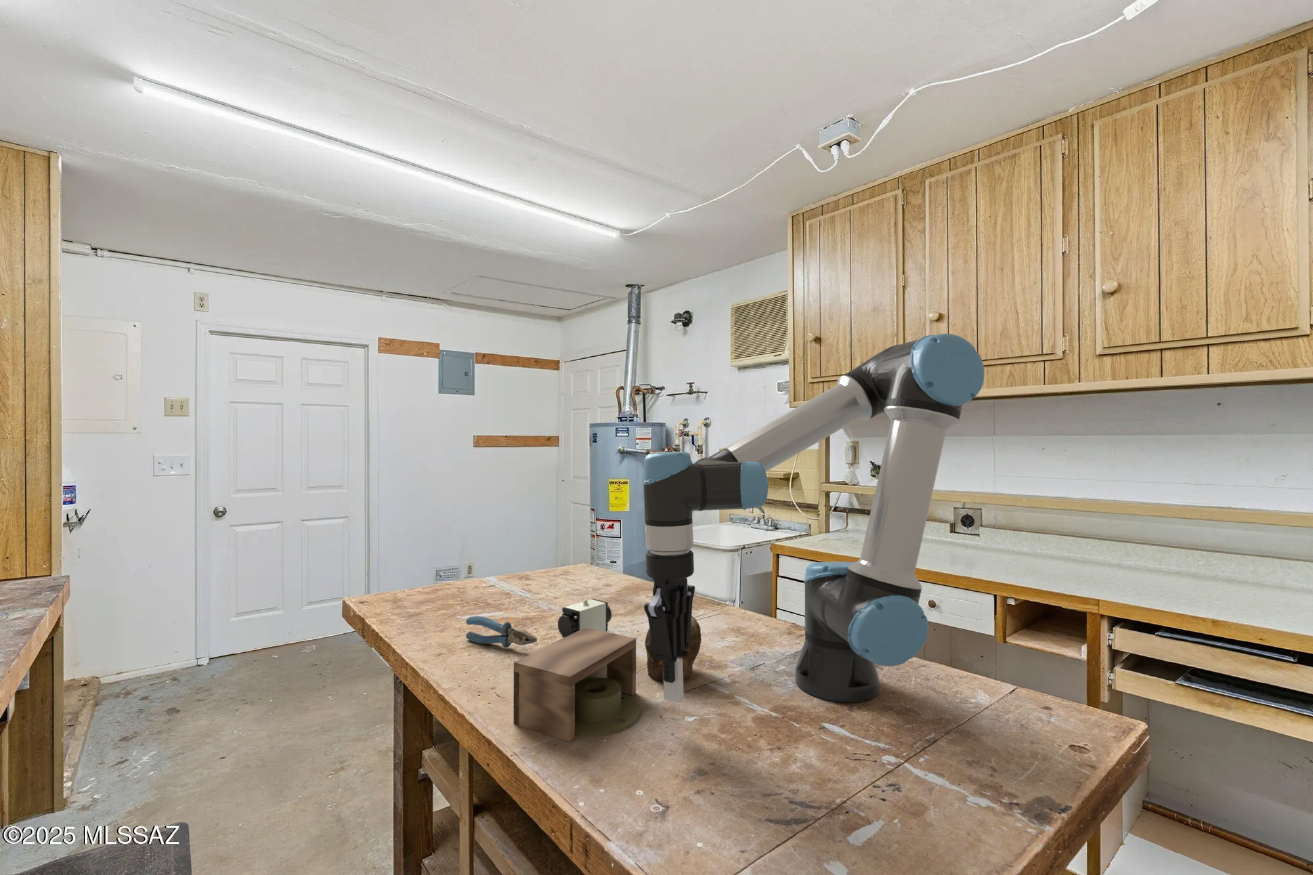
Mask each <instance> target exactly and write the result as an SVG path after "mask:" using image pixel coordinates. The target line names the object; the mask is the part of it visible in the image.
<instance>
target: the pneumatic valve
mask: <svg viewBox="0 0 1313 875" xmlns="http://www.w3.org/2000/svg"><path fill="white" fill-rule="evenodd" d="M561 610H562V612H561V616H560V617H559V618H558V621H557V628H558V632H559V633H560V635H561V636H562V639H563V638H565V637H567V636H569V635H571V634H573V633H575V632H577V631H579V630H581V629H584V628H588V629H593V630H598V631H603V632H608V631H609V630H608V629H609V622H611V620H612V617H613V616H612V609H611V608H610V606H609V603H608V601H604V600H600V599H595V598H590V599H587V598H586V599H583V600H582V601H581V602H579V601H578V602H576V603H572V604H571V605H567V606H564V607H562V609H561Z"/></svg>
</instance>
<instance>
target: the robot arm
mask: <svg viewBox="0 0 1313 875" xmlns="http://www.w3.org/2000/svg"><path fill="white" fill-rule="evenodd" d="M984 382H985V367H984V362H983V360H982V356H981V355H980V354H979V353H978V352H977V350H976V348H975V346H974V345H973V344H972V343H971V342H970V341H969V340H967V339H966V338H963V337H961V336H960V335H957V334H953V333H939V334H929V335H924V336H923V337H920V338H919V339H915V340H911V341H907V342H904V343H903V342H902V343H901V344H895V345H892V346H890V347H888V348H885V349H883V350H881V351H880V352H878V353H876V354H874V355H873V356H872V357H870V358H868V360H865V361H864V362H862V363H861V364H859V365H858V366H856V367H854V368H853V369H852V370H850V371H848V372H846V373H845V374H843V375H841V376H839V378H838V379H837V382H836V385H834V386H833V387H831V388H828V389H827V390H826V391H823V392H821V393H820V394H818V395H816V396H814V398H811V399H810V400H807V401H806V402H805V403H803V404H801V405H799V406H797V407H795V408H794V409H792V410H790V411H788V412H786V413H784V414H783V415H780V416H779V417H778V418H776V419H774V420H772V421H770V422H769V423H767V424H765V425H763V426H762V427H760V428H758V429H756V430H754V431H753V432H751V433H749V434H747V435H745V436H744V437H742V438H739V439H738V440H736V441H735V442H733V443H731V444H729V445H728V446H726V447H725V448H723V449H721V450H719V451H716V452H715V453H713V454H712V455H710V456H708V457H701V458H700V459H697V460H695V461H694V462H693V460H692V457H691V454H690V453H689V452H687V451H659V452H650V453H649V454H647V455H646V456H645V458H644V460H643V481H642V485H643V504H644V506H643V507H644V524H645V528H644V533H645V548H646V549H647V550H648V551H647V552H646V554H645V564H646V565H645V568H646V569H645V571H646V575H647V576H648V577H649V578H651V579H652V580H653V587H652V596H653V598H652V599H651V602H650V603H649V602H645V603H644V606H643V608H644V612H645V615H646V616H647V621H648V627H650V634H651V640H652V646H653V652H654V658H655V660H660V661H663V678H664V682H663V700H665V701H670V702H674V703H677V704H680V703H681V702H683V700H684V695H685V694H684V680H683V659H682V656H683V657H688V655H689V652H687V651H685V648H689V644H690V630H691V616H693V615H692V614H693V613H692V612H693V600H694V597H695V596H694V595H695V591H696V586H695V585H689V584H688V578H689V577H691V576H693V574H694V573H695V561H694V560H695V559H694V552H693V551H692V550H691V549H693V547H694V527H693V526H694V525H693V524H694V523H693V513H694V512H702V511H723V510H743V511H746V510H747V509H757V508H762V507H763V506H764V505H765V504H766V502H767V500H768V494H769V479H768V475H767V472H768V471H771V470H772V469H774V468H776V467H777V466H778V465H779V466H780V465H781V464H783V463H785V461H787V460H789V459H791V458H793V457H795V456H796V455H798V454H800V453H802V452H803V451H805V450H807V449H808V448H811V447H812V446H814V445H816V444H818V443H820V442H821V441H823V440H825V439H826V438H828V437H830V436H832V435H833V434H835V433H836V432H837V433H838V431H840V430H842V429H843V428H845V427H847V426H849V425H851V424H852V423H854V422H856V421H861V422H867V421H869V420H871V419H873V418H874V417H877V416H878V415H881V414H884V413H885V414H886V415H887V417H888V418H889V420H890V424H889V428H888V433H887V437H886V442H885V446H884V450H883V455H882V459H881V464H880V469H879V473H878V478H877V482H876V487H875V490H874V495H873V500H872V504H871V509H870V513H869V517H868V523H867V527H866V531H865V536H864V538H863V539H864V541H863V544H862V545H863V546H862V550H861V553H860V558H859V559H858V560H856V561H855V562H854V561H853V562H851V561H821V562H820V561H818V562H817V561H816V562H812V563H810V564H808V565H807V566H806V568H805V572H804V580H803V583H804V642H803V645H802V648H801V651H800V653H799V657H798V658H797V662H796V665H795V671H794V675H795V676H794V677H795V678H794V679H795V684H796V686H797V687H798V688H799V689H801V690H803V691H804V692H806V693H807V694H809V695H811V696H813V697H817V698H819V699H823V700H827V701H832V702H841V703H859V702H866V701H869V700H872V699H874V698H876V696H878V695H879V693H880V677H879V674H878V671H877V667H876V665H878V666H882V667H895V666H900V665H903V664H905V663H906V662H907V661H909V660H910V659H914V658H915V657H916V656H917V655H918V654H919V653H920V651H921V650H922V649H923V647H924V645H925V643H926V641H927V639H928V634H929V622H928V618H927V616H926V615H925V611H924V610H923V608H922V607H921V605H919V603H920V598H921V594H922V590H923V586H922V584H921V582H920V581H919V579H918V577H917V576H916V574H915V573H916V569H917V564H918V559H919V555H920V549H921V545H922V541H923V538H924V532H925V528H926V525H927V524H926V523H927V520H928V515H929V509H930V506H931V501H932V496H933V491H934V487H935V482H936V479H937V474H938V473H937V472H938V469H939V465H940V462H941V461H940V460H941V456H942V452H943V451H942V450H943V448H944V442H945V439H946V438H945V437H946V434H947V431H948V430H950V429H952V428H953V427H955V426H956V425H958V424H959V421H960V418H961V413H962V408H963V406H964V405H965V404H967V403H969V402H970V401H972V399H974V398H976V397H977V396H978V394H979V393H980V392H981V389H982V387H983V385H984Z"/></svg>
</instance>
